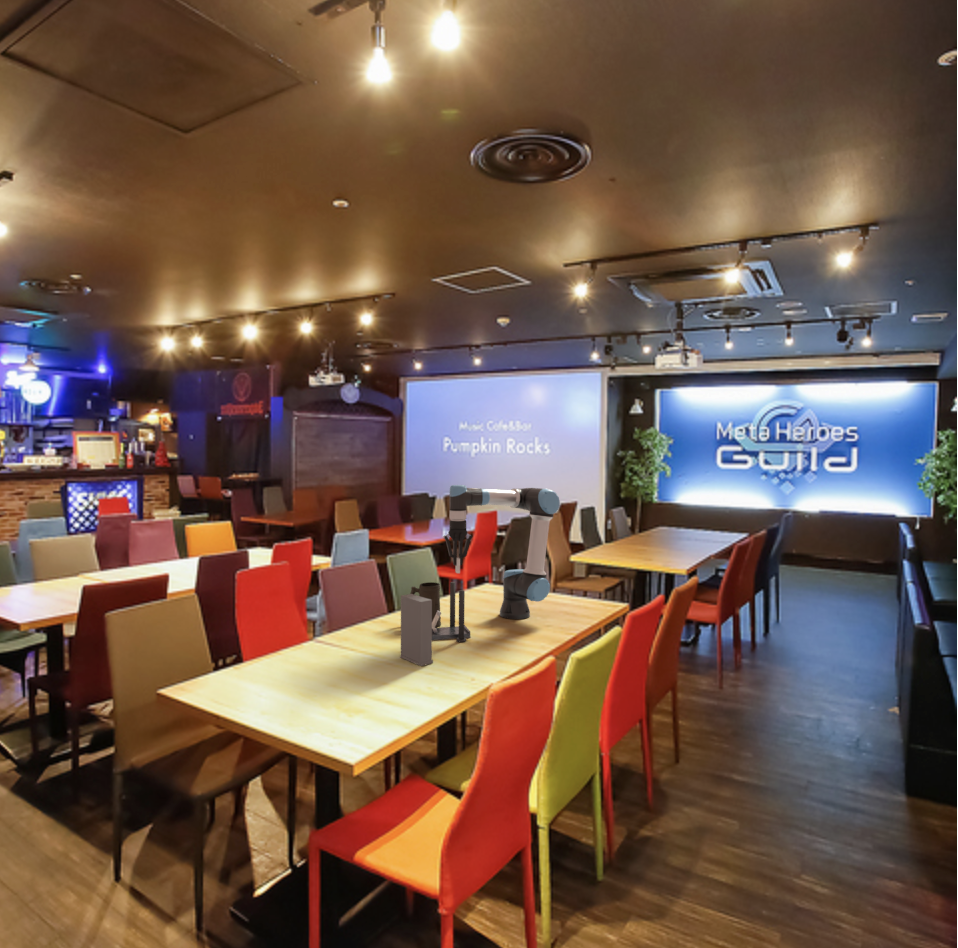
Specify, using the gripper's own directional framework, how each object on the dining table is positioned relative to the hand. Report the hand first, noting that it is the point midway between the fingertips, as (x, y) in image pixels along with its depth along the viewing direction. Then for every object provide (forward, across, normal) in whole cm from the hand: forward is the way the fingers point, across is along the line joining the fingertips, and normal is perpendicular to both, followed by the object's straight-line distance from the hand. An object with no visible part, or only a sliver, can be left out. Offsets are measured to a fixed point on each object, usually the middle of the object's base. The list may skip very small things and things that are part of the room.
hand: (457, 572), depth 288 cm
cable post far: (+28, 0, -9) cm, 30 cm away
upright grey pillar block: (+28, +23, +30) cm, 47 cm away
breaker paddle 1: (+25, +10, -6) cm, 28 cm away
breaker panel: (+28, +7, -1) cm, 29 cm away
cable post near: (+28, 0, +9) cm, 30 cm away
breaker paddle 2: (+25, +10, 0) cm, 27 cm away
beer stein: (+29, +11, -20) cm, 37 cm away
